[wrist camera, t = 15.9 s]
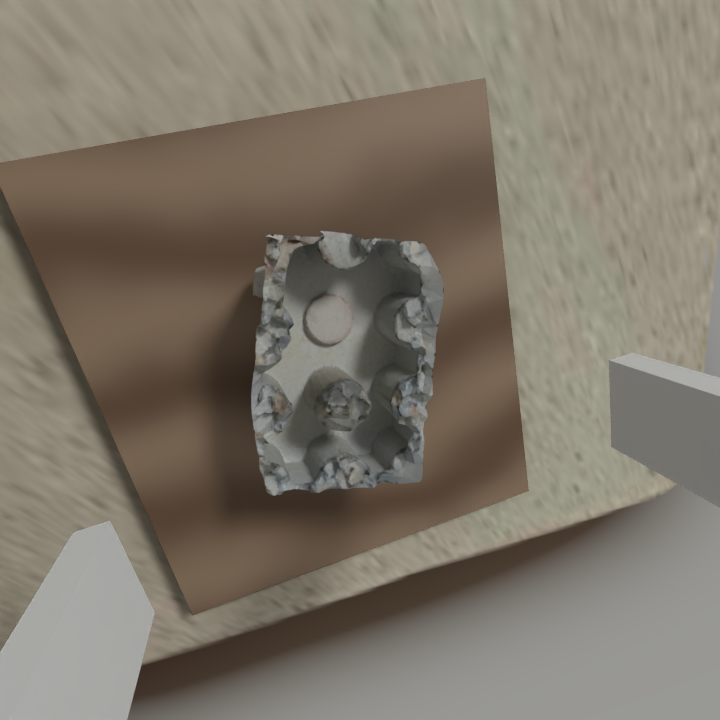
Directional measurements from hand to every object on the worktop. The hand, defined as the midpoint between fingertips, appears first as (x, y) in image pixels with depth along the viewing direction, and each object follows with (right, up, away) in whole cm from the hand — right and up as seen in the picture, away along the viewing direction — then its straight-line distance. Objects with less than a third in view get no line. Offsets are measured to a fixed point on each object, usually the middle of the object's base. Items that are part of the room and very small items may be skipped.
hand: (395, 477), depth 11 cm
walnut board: (-3, +3, +11) cm, 12 cm away
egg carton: (-5, +3, +10) cm, 11 cm away
